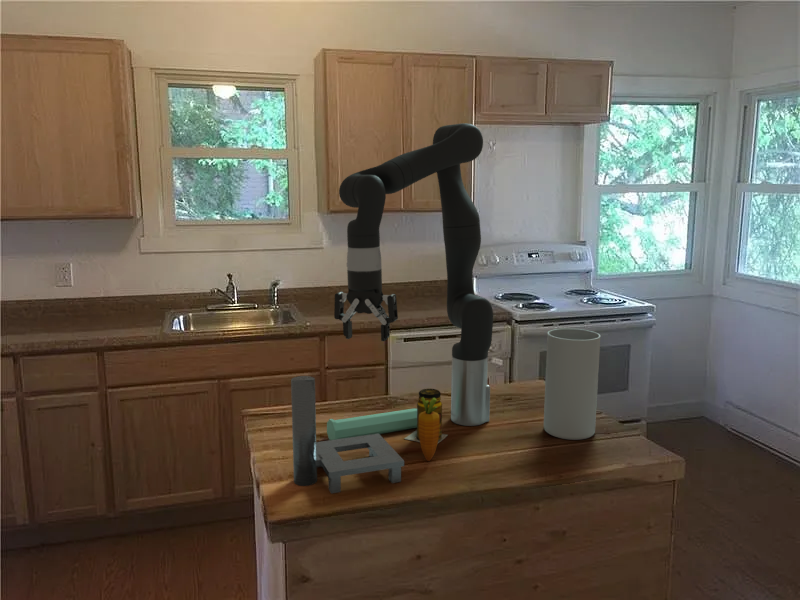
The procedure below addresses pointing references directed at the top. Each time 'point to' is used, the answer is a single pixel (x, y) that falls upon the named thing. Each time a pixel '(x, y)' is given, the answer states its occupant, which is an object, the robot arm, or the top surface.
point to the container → (372, 424)
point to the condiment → (427, 395)
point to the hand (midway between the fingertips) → (366, 339)
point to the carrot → (429, 429)
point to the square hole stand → (332, 445)
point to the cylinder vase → (571, 383)
